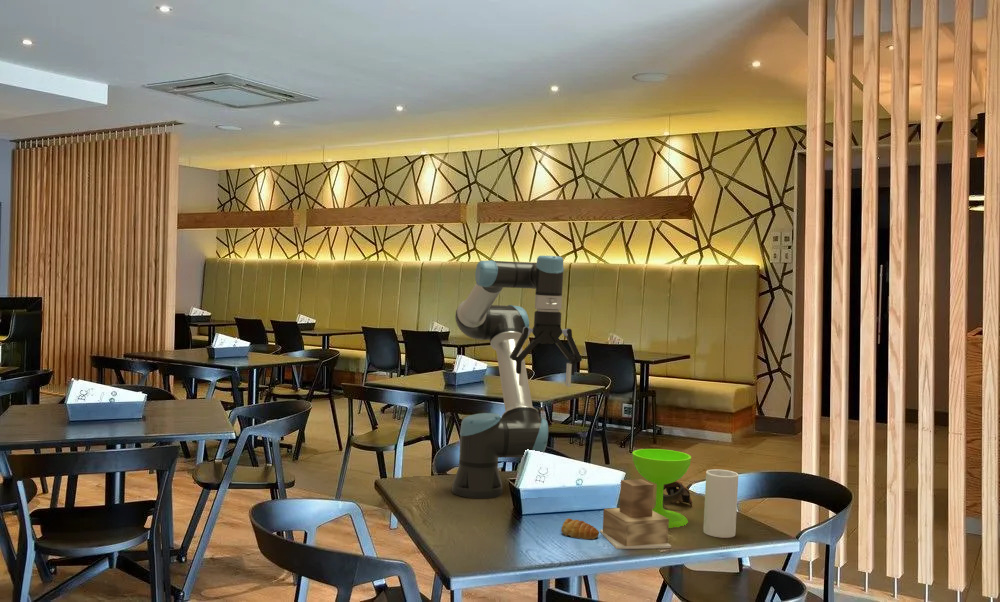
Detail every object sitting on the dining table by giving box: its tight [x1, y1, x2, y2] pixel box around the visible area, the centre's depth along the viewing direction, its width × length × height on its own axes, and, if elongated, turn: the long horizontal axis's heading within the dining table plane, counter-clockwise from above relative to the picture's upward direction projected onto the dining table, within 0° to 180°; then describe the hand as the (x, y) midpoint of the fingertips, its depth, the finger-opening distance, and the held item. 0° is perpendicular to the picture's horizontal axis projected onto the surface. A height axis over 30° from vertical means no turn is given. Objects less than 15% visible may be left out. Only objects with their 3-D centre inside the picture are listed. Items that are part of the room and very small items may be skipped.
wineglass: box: [631, 448, 692, 529], centre depth 243 cm, size 16×16×18 cm
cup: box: [702, 468, 739, 539], centre depth 232 cm, size 8×8×16 cm
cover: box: [602, 478, 669, 546], centre depth 223 cm, size 12×12×14 cm
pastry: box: [560, 518, 600, 540], centre depth 225 cm, size 9×7×4 cm
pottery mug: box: [663, 480, 693, 508], centre depth 260 cm, size 12×10×8 cm
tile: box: [599, 529, 672, 550], centre depth 223 cm, size 14×14×1 cm
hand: (544, 386), depth 248 cm, fingers open, 13 cm apart
